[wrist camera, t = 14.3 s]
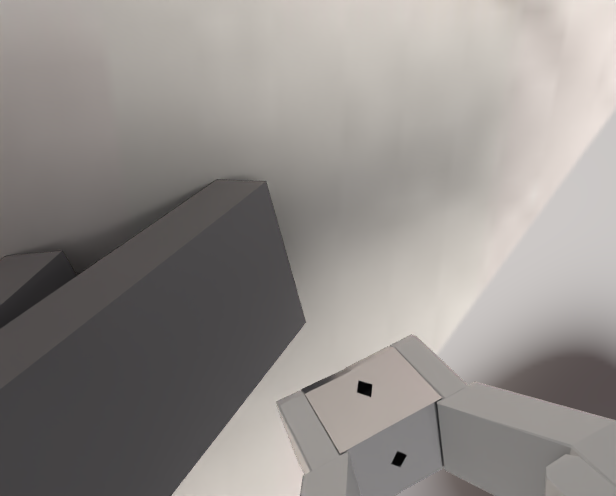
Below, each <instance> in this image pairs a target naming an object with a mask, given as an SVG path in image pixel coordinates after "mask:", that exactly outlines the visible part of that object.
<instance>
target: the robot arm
mask: <svg viewBox="0 0 616 496" xmlns="http://www.w3.org/2000/svg"><path fill="white" fill-rule="evenodd" d="M276 404H277V408H278V410H279V413H280V416H281V419H282V421H283V424H284V427H285V429H286V432H287V435H288V438H289V440H290V443H291V445H292V448H293V450H294V452H295V455H296V457H297V460H298V462H299V465H300V467H301V469H302V471H303V473H304V476H303V479H302V486H301V493H300V496H396V495H397V494H399V493H400V492H401V491H403V490H405V489H407V488H409V487H411V486H412V485H414V484H416V483H418V482H420V481H421V480H423V479H425V478H427V477H428V476H430V475H432V474H434V473H436V472H438V471H439V470H441V469H443V468H445V471H447V472H449V473H451V474H453V475H455V476H457V477H459V478H461V479H463V480H465V481H467V482H469V483H471V484H473V485H475V486H477V487H479V488H481V489H483V490H485V491H487V492H489V493H491V494H493V495H495V496H616V420H612V419H608V418H605V417H601V416H598V415H594V414H590V413H586V412H583V411H580V410H576V409H572V408H569V407H565V406H562V405H558V404H554V403H550V402H547V401H544V400H540V399H536V398H533V397H529V396H525V395H522V394H518V393H515V392H511V391H507V390H504V389H500V388H497V387H493V386H489V385H485V384H482V383H479V382H473V383H471V384H469V385H468V384H467V383H466V382H465V381H464V380H463V379H462V378H460V377H459V376H458V375H457V374H456V373H455V372H454V371H453V370H452V369H451V368H450V367H449V366H448V365H446V364H445V363H444V361H442V360H441V359H440V358H439V357H438V356H437V355H436V354H435V353H434V352H433V351H432V350H431V349H430V348H429V347H427V346H426V345H425V344H424V343H423V342H422V341H421V340H420V339H419V338H418V337H417V336H414V335H412V334H411V335H409V336H407V337H405V338H403V339H401V340H400V341H398V342H396V343H394V344H392V345H390V346H387V347H385V348H384V349H382V350H380V351H378V352H376V353H374V354H372V355H370V356H368V357H366V358H364V359H362V360H360V361H358V362H356V363H354V364H352V365H350V366H348V367H347V368H346V369H344V370H342V371H339V372H337V373H335V374H333V375H331V376H329V377H327V378H324V379H322V380H320V381H318V382H316V383H314V384H312V385H309V386H307V387H305V388H303V389H301V391H298V392H296V393H294V394H291V395H289V396H287V397H285V398H283V399H281V400H279V401H277V402H276Z"/></svg>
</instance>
